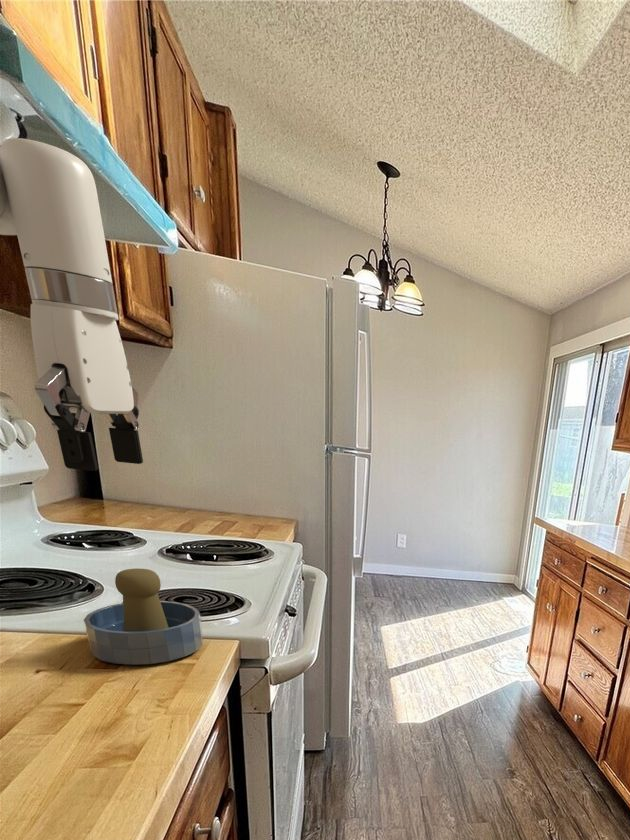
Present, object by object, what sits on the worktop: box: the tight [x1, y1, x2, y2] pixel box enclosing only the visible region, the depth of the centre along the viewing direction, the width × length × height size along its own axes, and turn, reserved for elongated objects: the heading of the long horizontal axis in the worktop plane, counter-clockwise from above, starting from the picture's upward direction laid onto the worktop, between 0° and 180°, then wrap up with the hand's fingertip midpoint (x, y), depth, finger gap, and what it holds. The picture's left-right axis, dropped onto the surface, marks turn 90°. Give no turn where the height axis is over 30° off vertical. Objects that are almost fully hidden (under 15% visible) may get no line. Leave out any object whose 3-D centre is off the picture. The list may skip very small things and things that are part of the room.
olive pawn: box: [114, 567, 169, 632], centre depth 77 cm, size 6×6×11 cm
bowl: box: [83, 600, 204, 666], centre depth 79 cm, size 14×14×5 cm
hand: (107, 465), depth 67 cm, fingers open, 9 cm apart
